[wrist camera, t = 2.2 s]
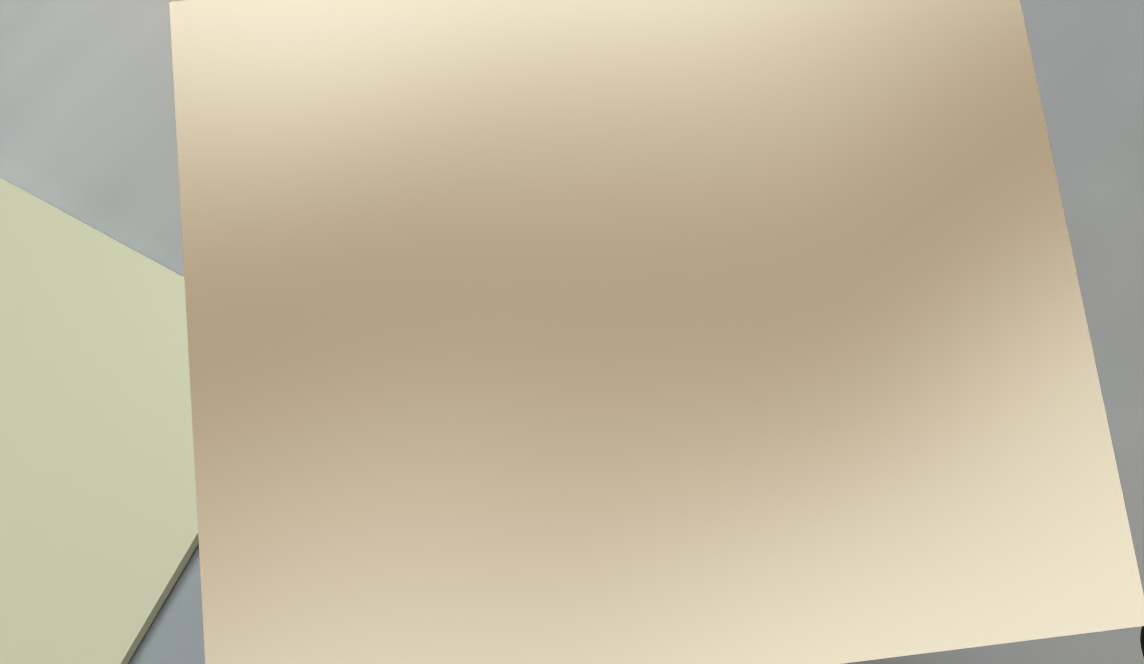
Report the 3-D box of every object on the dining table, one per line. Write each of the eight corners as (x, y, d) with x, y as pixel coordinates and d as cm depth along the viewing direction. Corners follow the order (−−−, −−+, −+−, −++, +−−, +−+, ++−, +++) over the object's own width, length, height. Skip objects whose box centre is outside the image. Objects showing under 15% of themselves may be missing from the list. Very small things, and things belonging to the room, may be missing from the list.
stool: (762, 551, 19) (1150, 625, 7) (444, 590, 19) (209, 742, 6) (723, 293, 20) (1001, -84, 7) (420, 328, 20) (169, 1, 7)
